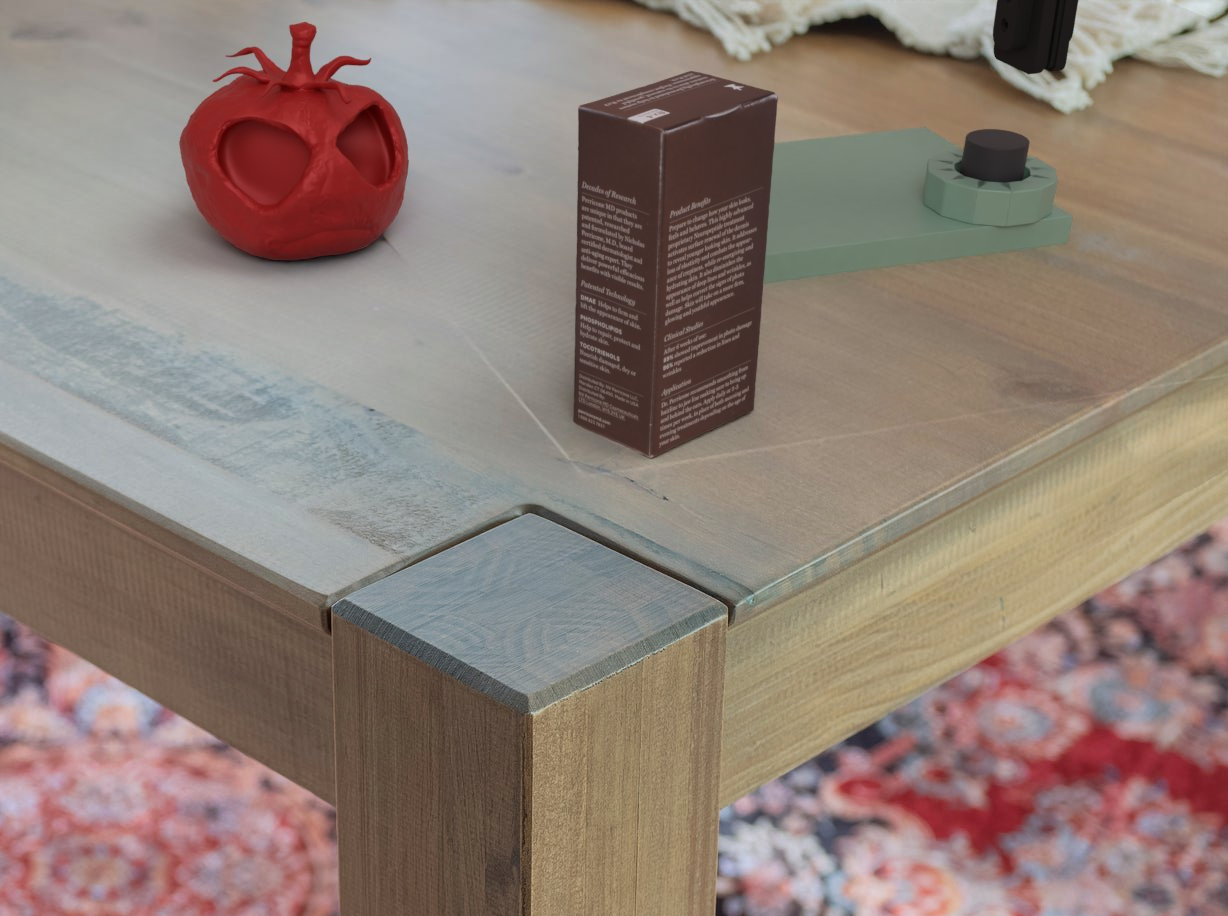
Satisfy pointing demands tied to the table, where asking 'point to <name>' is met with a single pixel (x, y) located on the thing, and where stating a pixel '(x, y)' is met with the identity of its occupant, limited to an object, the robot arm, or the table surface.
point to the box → (670, 258)
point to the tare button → (994, 155)
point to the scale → (897, 205)
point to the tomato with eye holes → (296, 157)
